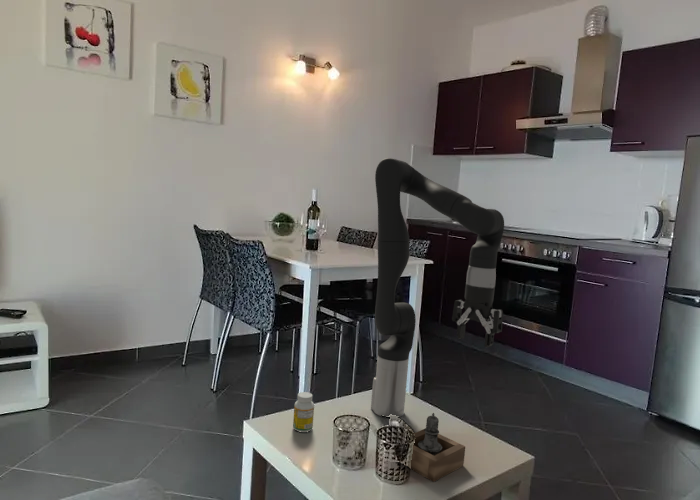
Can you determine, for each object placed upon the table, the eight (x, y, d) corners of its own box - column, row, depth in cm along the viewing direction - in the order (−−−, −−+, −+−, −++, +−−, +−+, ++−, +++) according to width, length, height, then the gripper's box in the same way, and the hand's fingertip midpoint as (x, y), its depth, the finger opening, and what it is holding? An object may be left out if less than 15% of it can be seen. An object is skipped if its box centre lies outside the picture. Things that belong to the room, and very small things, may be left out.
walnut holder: (394, 460, 127) (396, 440, 126) (424, 446, 135) (426, 427, 135) (433, 482, 118) (435, 461, 118) (463, 465, 127) (465, 446, 126)
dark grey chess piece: (440, 467, 123) (445, 419, 122) (416, 463, 125) (420, 415, 123) (441, 455, 129) (445, 409, 128) (417, 451, 130) (422, 406, 129)
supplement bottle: (310, 434, 137) (312, 399, 136) (290, 431, 138) (292, 397, 137) (314, 425, 142) (316, 392, 141) (295, 423, 143) (297, 389, 142)
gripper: (450, 279, 141) (444, 337, 142) (496, 289, 130) (489, 352, 132) (466, 278, 146) (460, 334, 147) (511, 287, 135) (505, 347, 137)
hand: (474, 342), depth 140 cm, fingers open, 8 cm apart
